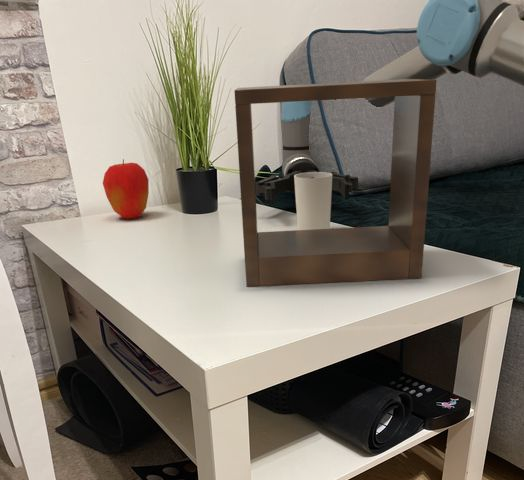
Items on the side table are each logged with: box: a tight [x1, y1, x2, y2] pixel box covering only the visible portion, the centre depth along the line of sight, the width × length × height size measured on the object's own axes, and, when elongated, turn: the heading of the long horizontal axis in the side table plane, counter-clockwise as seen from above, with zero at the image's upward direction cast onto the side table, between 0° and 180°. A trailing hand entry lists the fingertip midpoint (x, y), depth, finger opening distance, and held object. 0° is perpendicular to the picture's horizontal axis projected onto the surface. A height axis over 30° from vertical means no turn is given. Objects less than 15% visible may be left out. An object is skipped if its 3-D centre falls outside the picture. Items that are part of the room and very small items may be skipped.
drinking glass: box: [294, 171, 333, 230], centre depth 102 cm, size 7×7×10 cm
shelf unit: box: [233, 79, 438, 288], centre depth 80 cm, size 24×14×25 cm, turn 91°
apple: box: [102, 158, 150, 220], centre depth 120 cm, size 9×9×12 cm
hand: (310, 193), depth 106 cm, fingers open, 13 cm apart
